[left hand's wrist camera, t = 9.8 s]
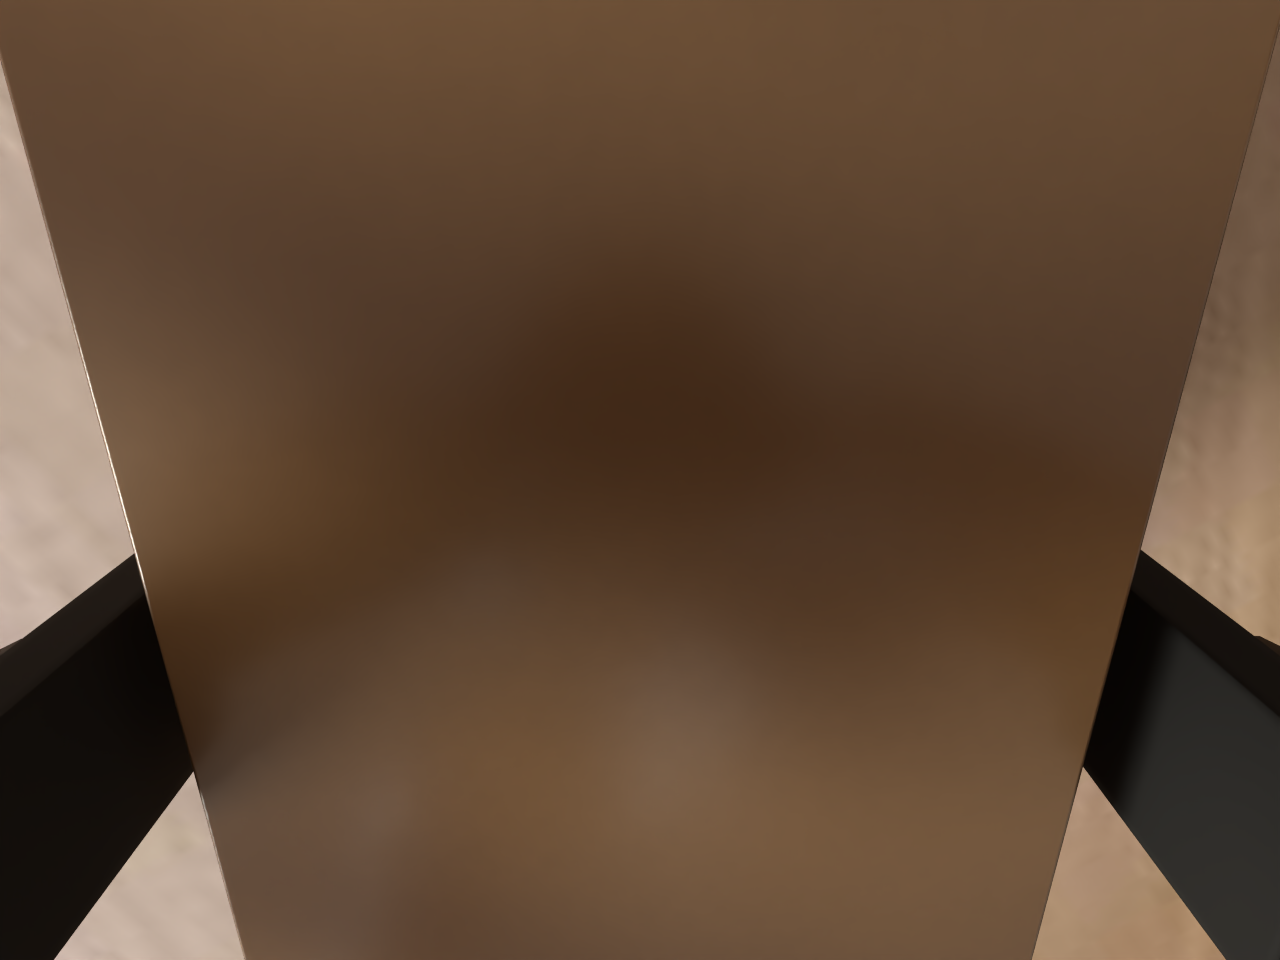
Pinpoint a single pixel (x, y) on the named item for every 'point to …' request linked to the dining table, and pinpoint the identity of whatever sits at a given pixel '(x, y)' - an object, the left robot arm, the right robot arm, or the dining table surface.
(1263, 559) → the dining table surface
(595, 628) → the cabinet
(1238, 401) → the dining table surface
